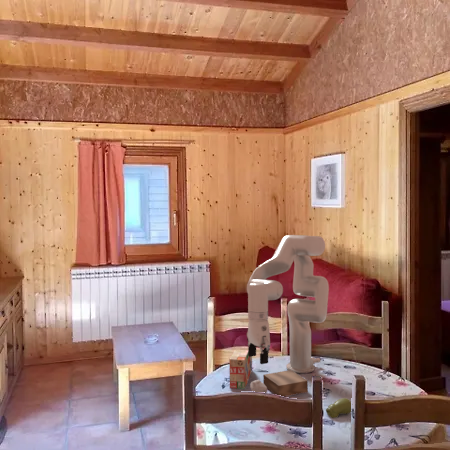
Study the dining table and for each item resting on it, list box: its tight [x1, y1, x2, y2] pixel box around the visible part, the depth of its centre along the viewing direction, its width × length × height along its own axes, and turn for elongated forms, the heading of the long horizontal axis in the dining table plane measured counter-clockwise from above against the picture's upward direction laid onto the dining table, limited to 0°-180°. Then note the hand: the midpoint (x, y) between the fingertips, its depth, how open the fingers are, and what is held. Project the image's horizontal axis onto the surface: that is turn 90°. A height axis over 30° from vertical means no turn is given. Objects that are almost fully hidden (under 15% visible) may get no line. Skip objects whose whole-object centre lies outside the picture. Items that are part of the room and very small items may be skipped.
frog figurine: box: [249, 379, 268, 394], centre depth 185 cm, size 6×7×7 cm
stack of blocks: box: [228, 349, 253, 390], centre depth 205 cm, size 21×6×12 cm, turn 168°
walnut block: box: [262, 369, 309, 397], centre depth 194 cm, size 13×13×5 cm
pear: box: [325, 397, 352, 419], centre depth 171 cm, size 6×5×10 cm
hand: (258, 359), depth 184 cm, fingers open, 9 cm apart
